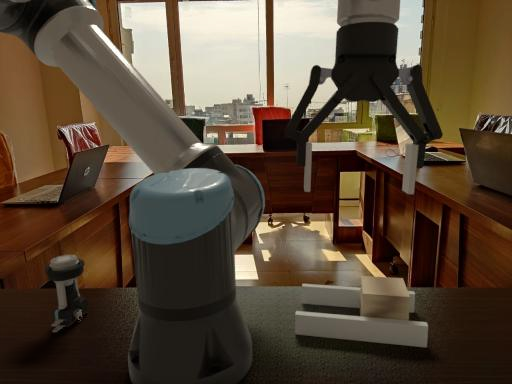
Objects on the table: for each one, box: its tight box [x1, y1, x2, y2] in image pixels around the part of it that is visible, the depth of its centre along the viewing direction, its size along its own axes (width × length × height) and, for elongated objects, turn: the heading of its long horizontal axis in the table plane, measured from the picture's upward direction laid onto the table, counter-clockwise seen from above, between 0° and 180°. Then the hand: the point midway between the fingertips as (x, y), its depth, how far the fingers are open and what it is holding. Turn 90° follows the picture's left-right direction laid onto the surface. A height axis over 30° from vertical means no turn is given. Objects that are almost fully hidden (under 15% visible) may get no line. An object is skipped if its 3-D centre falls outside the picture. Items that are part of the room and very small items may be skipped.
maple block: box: [359, 275, 410, 321], centre depth 54 cm, size 6×6×6 cm
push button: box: [44, 254, 89, 333], centre depth 56 cm, size 7×5×10 cm
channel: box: [294, 283, 429, 348], centre depth 55 cm, size 17×10×3 cm, turn 77°
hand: (356, 191), depth 51 cm, fingers open, 13 cm apart
